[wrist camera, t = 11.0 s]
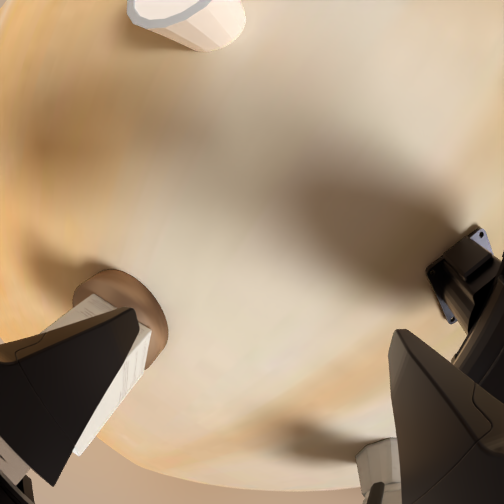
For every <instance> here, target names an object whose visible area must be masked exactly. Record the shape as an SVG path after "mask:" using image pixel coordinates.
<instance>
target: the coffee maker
mask: <svg viewBox="0 0 504 504" xmlns="http://www.w3.org/2000/svg"><path fill="white" fill-rule="evenodd" d="M355 457H356V463H357V468H358V473H359V479H360V485H361V491H362V494H363V496H364V497H365V500H364V501H363V504H402V498H401V477H400V464H399V453H398V443H397V438H388V439H385V440H382V441H379V442H376V443H373V444H370V445H366V446H365V447H364V448H363V449H362V450H361V451H360V452H359V453H358V454H357V455H356V456H355Z"/></svg>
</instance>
